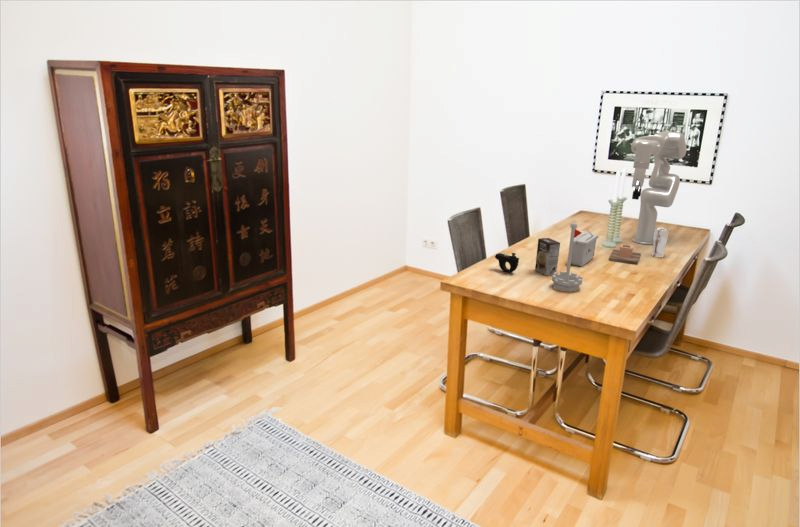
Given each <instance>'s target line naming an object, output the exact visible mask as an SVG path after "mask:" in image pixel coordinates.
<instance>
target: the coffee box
mask: <svg viewBox="0 0 800 527" xmlns="http://www.w3.org/2000/svg"><path fill="white" fill-rule="evenodd" d="M560 248H561V242H559V241H557V240H555V239H552V238H550V237H543V238H542V237H541V238H538V240H537V249H536V257H535V258H536V259H535V268H534V271H536V272H538V273H539V274H542V275H543V274H544V275H543V276H545V275H546V276H547V275H549V276H552V275H553V273H555V272H557V271H558V263H559V257H560V256H559V255H560ZM557 273H558V272H557ZM546 276H545V277H546ZM547 277H548V276H547Z"/></svg>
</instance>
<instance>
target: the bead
mask: <svg viewBox="0 0 800 527" xmlns="http://www.w3.org/2000/svg"><path fill="white" fill-rule="evenodd" d="M625 245H626V244H620V245H619V249H618V250H619V256H622V257H628V258H631V256H632V252H634V251H633V250H634V245H629V244H627V245H628V246H629V247H625Z"/></svg>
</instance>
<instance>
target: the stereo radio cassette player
mask: <svg viewBox="0 0 800 527" xmlns="http://www.w3.org/2000/svg"><path fill="white" fill-rule="evenodd" d="M585 230H587V232H586V231H585V232H582V233H581V234H580V235H578V236H577V237H575V238H574V242H573V250H572V258H571V264H572V265H571V266H577V267H578V266H579V267H581V266H582V267H583V266H584V265H586V264H587V263H588V262H590V261H591V260H592V259H594V256H595V250H596V243H597V239H598V238H599V234H597V233H591V232H590V230H589V229H588V228H587V227H585Z"/></svg>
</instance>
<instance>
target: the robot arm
mask: <svg viewBox="0 0 800 527" xmlns="http://www.w3.org/2000/svg"><path fill="white" fill-rule="evenodd" d="M630 148H631V152H632V153H633V154H634V161H633V169H634V172H633V178H632V183H631V188H633V192H632V198H631V199H632V200H637V201H638V200H639V199H640V207H639V213H638V219H637V220H638V221H637V226H636V234H635V236H634V237H633V238H632V242H634V243H636V244H641V245H649V246H650V245H653V237H654V232H655V228H656V225H657V219H658V210H657V208H656V207H660V208H670V207H671V206H672V205H673V204H674V201H675V198H676V195H677V193H678V190H679V187H680V183H681V181H680V180H681V179H680V176H679V175H677V174H675V173H670V170H671V165H670V163H669V162H668V160H667V159H666V158H669V159H675V160H677V159H678V160H679V159H683V158H684V157H685V156H686V154H687V144H686V139H685V136H684V134H683V133H682V132H680V131H669V130H663V131H660V132H657V133H656V134H653V135H645V136H639V137H637V138H635V139H634V140H633V141H632V143H631V144H630ZM652 156H653V162H654V164H653V165H654V167H653V169H652V172H651V174H650V177H649V181H648V186H649V187H647V188H644V189H642V187H643V186H644V182H645V177H646V171H647V170H649V168H650V163H651V157H652Z"/></svg>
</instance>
